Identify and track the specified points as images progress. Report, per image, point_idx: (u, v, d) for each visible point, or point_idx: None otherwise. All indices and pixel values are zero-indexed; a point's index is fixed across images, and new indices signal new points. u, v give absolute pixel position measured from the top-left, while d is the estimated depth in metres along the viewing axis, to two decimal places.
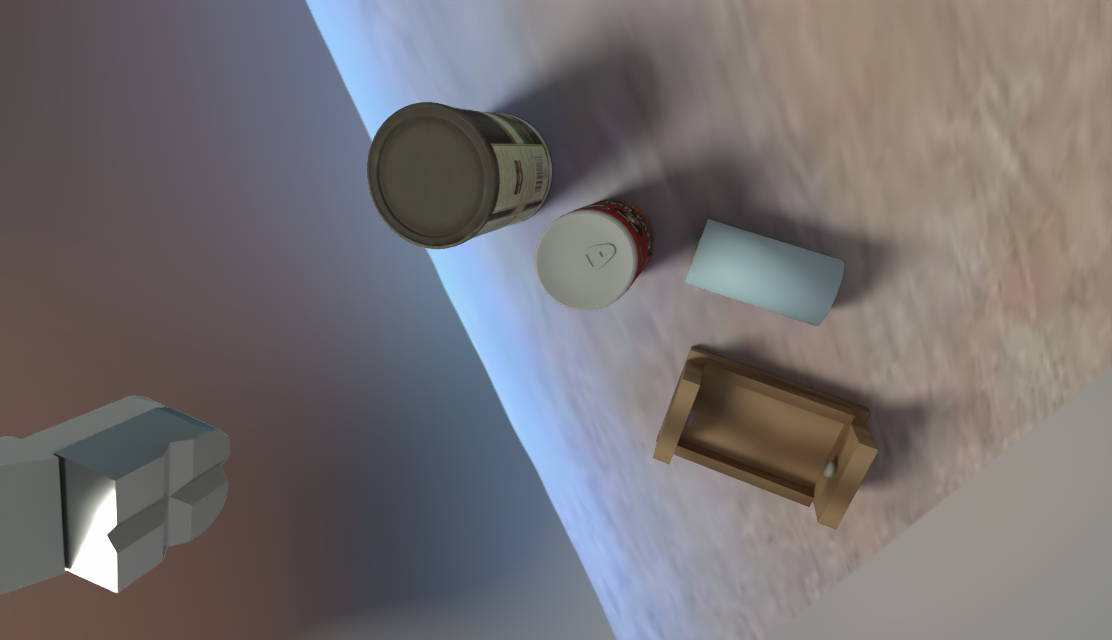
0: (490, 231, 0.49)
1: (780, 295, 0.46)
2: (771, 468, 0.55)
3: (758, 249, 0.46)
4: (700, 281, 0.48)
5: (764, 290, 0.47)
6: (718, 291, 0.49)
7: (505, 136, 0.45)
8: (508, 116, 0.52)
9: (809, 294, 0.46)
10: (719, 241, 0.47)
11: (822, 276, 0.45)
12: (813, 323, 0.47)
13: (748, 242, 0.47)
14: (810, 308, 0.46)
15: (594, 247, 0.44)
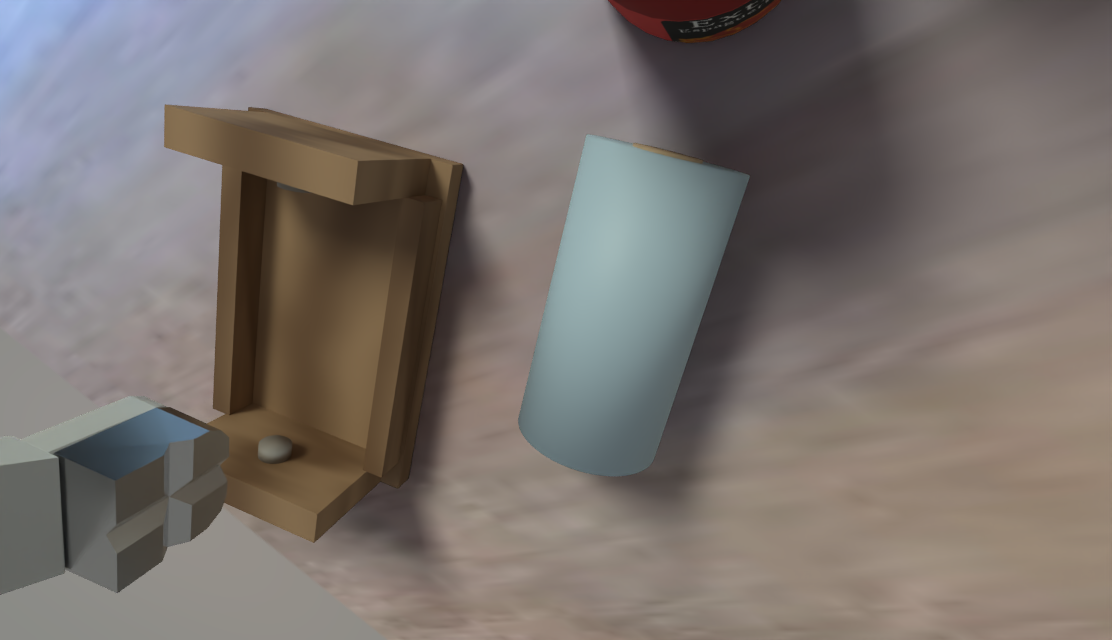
0: None
1: (558, 357, 0.20)
2: (265, 338, 0.29)
3: (663, 307, 0.19)
4: (583, 171, 0.19)
5: (566, 323, 0.20)
6: (567, 217, 0.20)
7: None
8: None
9: (563, 415, 0.21)
10: (681, 213, 0.18)
11: (605, 441, 0.21)
12: (520, 410, 0.23)
13: (681, 282, 0.19)
14: (538, 413, 0.21)
15: None
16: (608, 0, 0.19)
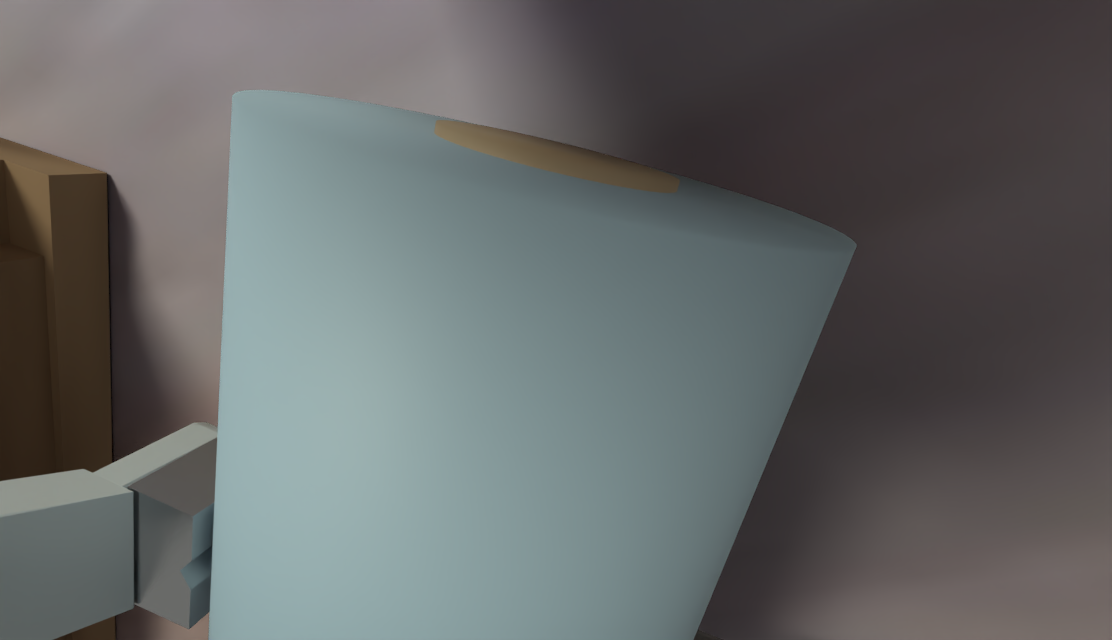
0: None
1: None
2: None
3: None
4: (227, 242, 0.05)
5: None
6: None
7: None
8: None
9: None
10: (640, 448, 0.04)
11: None
12: None
13: None
14: None
15: None
16: None
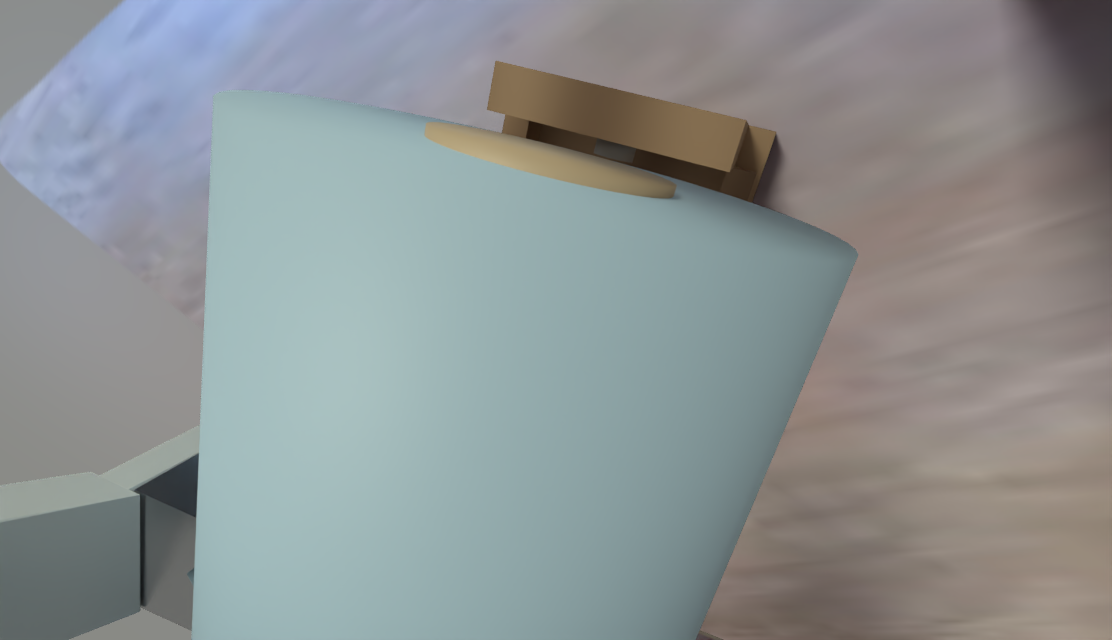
0: None
1: None
2: None
3: None
4: (207, 245, 0.05)
5: None
6: None
7: None
8: None
9: None
10: (627, 465, 0.04)
11: None
12: None
13: None
14: None
15: None
16: None
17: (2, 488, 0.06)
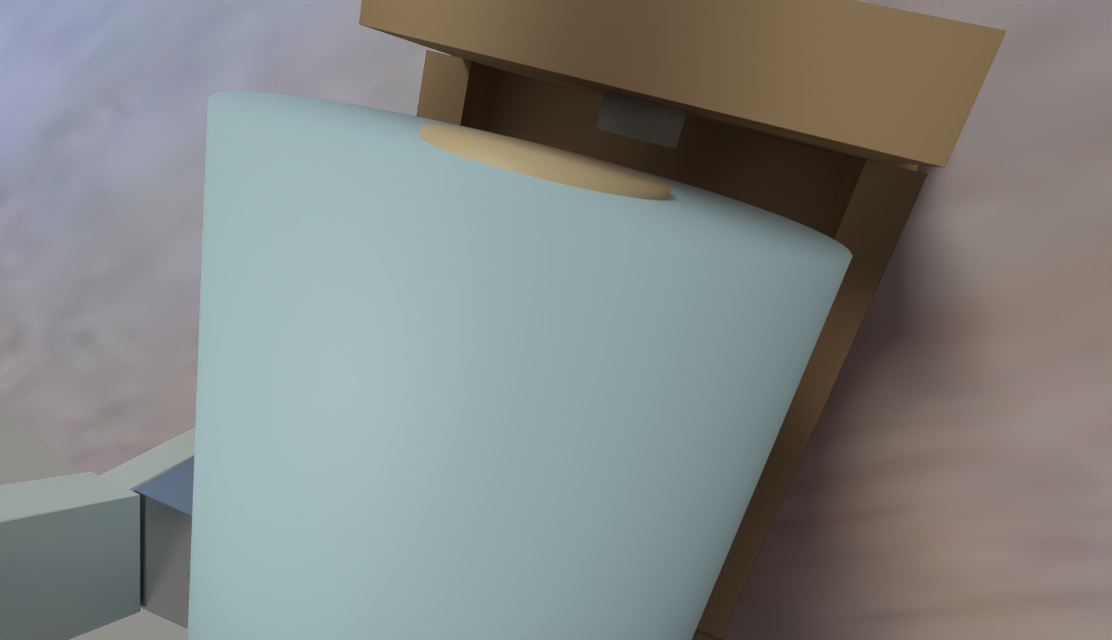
0: None
1: None
2: None
3: None
4: None
5: None
6: None
7: None
8: None
9: None
10: (620, 467, 0.04)
11: None
12: None
13: None
14: None
15: None
16: None
17: (2, 488, 0.06)
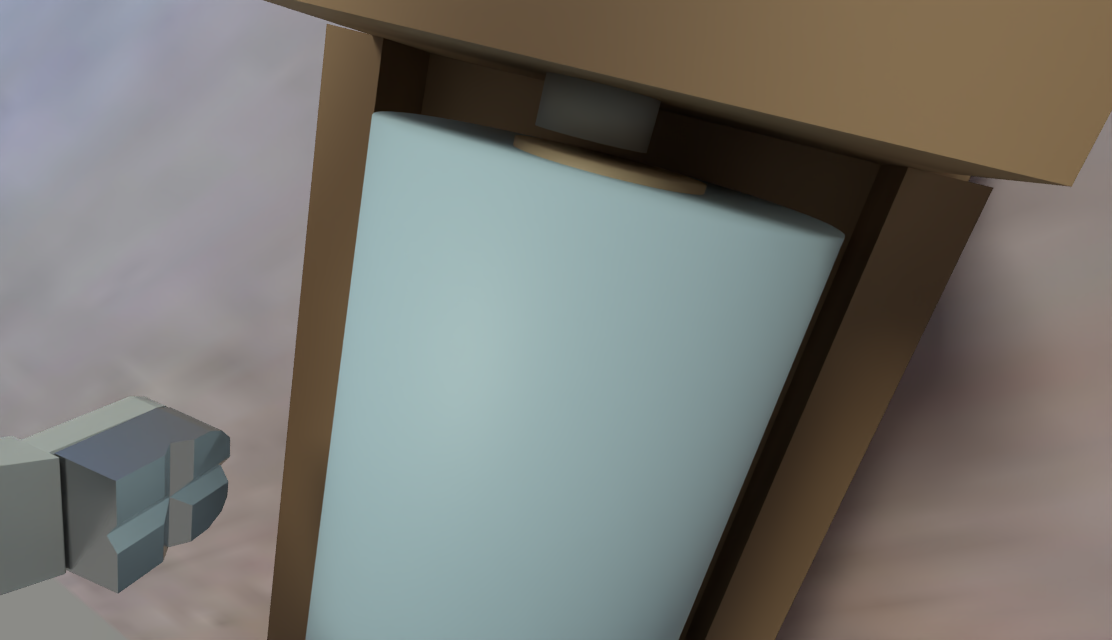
0: None
1: None
2: None
3: (643, 618, 0.07)
4: (369, 236, 0.06)
5: None
6: (343, 353, 0.07)
7: None
8: None
9: None
10: (704, 381, 0.05)
11: None
12: None
13: (690, 548, 0.07)
14: None
15: None
16: None
17: None
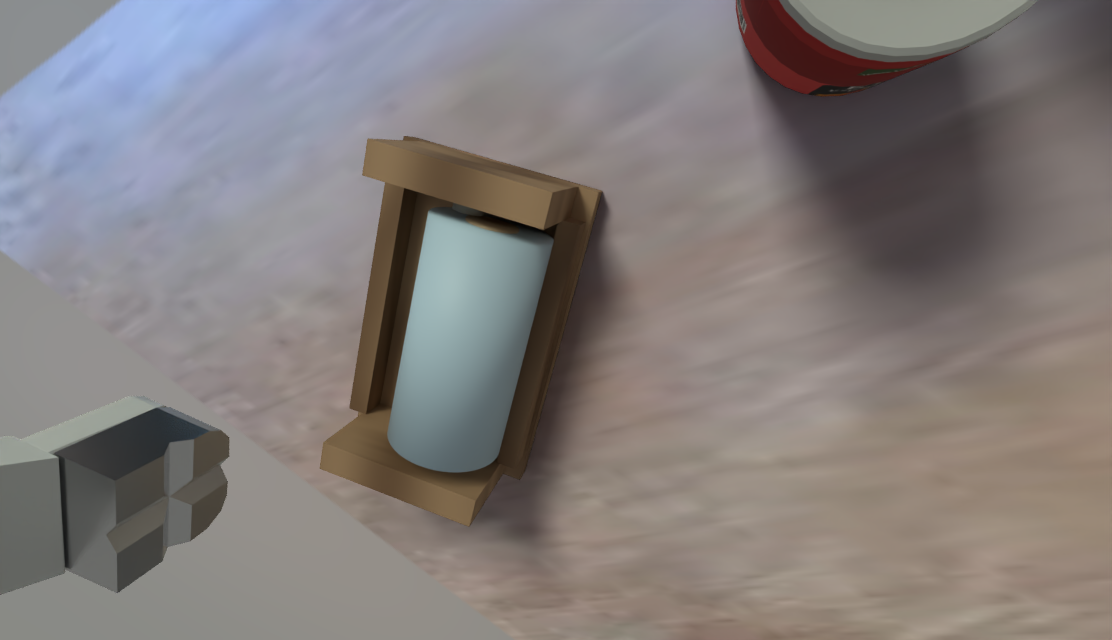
0: None
1: (438, 394, 0.26)
2: (399, 343, 0.32)
3: (515, 342, 0.26)
4: (441, 251, 0.24)
5: (443, 368, 0.25)
6: (424, 283, 0.25)
7: None
8: None
9: (448, 437, 0.26)
10: (525, 278, 0.25)
11: (480, 445, 0.27)
12: (393, 439, 0.28)
13: (525, 322, 0.26)
14: (423, 440, 0.26)
15: None
16: (763, 61, 0.23)
17: None
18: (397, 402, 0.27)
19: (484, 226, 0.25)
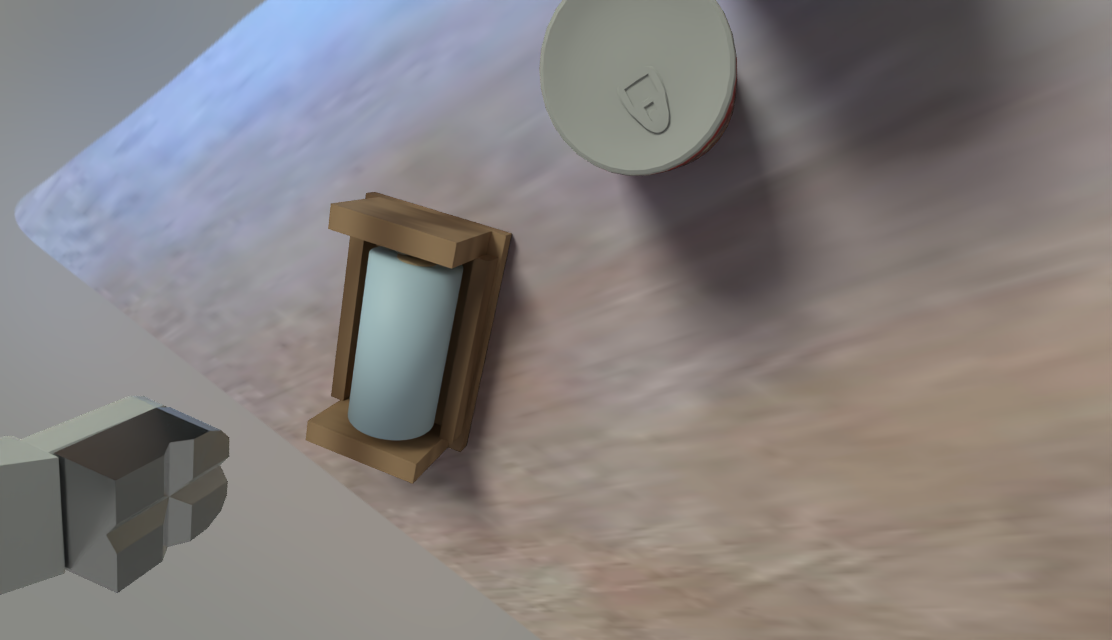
0: None
1: (371, 380, 0.36)
2: None
3: (427, 346, 0.35)
4: (371, 277, 0.34)
5: (374, 361, 0.35)
6: (364, 300, 0.35)
7: None
8: None
9: (379, 412, 0.36)
10: (429, 299, 0.34)
11: (405, 421, 0.37)
12: (348, 412, 0.38)
13: (435, 332, 0.35)
14: (363, 413, 0.37)
15: (662, 90, 0.23)
16: None
17: None
18: (351, 385, 0.38)
19: (405, 261, 0.35)
